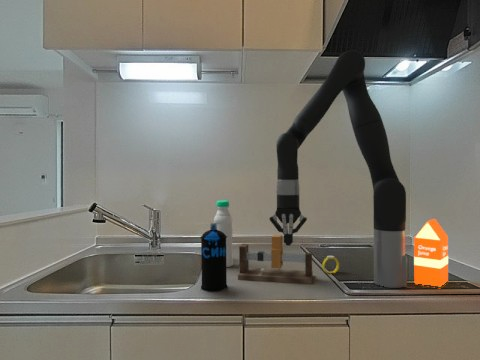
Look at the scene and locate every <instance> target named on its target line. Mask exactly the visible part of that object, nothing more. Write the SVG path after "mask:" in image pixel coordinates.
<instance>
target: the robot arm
mask: <svg viewBox="0 0 480 360" xmlns="http://www.w3.org/2000/svg"><path fill="white" fill-rule="evenodd" d="M365 67H366V59H365V57H364V55H363V54H362V52H360V51H358V50H355V49H349V50H346V51H343V53H341V54H340V55H339V56H338V58H337V59H336V62H335V64H333V67H332V69H331V70H330V72H329V74H328V75H327V77H326V78H325V79H324V81H323V82H322V84H321V85H320V87H319V88H318V90H316V92H315V93H314V94H313V96H312V97H311V98H310V100H308V102H307V103H306V104H305V105H304V107H302V109H301V110H300V111H299V113H298V114H297V115H296V117H295V118H294V120H293V122H292V124H291V126H290V127H288V129H287V130H286V131H285V132H284V133H281V134H280V135H279V136H278V138H277V140H276V158H277V169H276V171H277V172H276V173H277V182H276V211H275V212H274V214H273V215H272V216H270V217H269V218H268V219H269V221H270V222H271V224H272V225H273V226H274V227H275V229H276V230H277V231H278V233H282V235H283V244H285V246H291V245H292V244H293V243H294V234H295V233H298V232H299V230H300V229H301V228H302V227H303V225H304V224H305V223H306V222H307V220H308V217H306V216H304V215H303V214H302V212H301V210H300V209H301V208H300V183H299V182H300V180H299V174H300V173H299V164H298V155H299V154H298V151H299V148H300V147H301V146H302V145H303V143H304V142H305V140H306V138H307V137H308V136H309V135H310V133H311V132H312V131H314V129H315V128H316V127H317V126H318V124H319V123H320V122H321V121H322V119H323V118H324V117H325V115H326V114H327V112H328V111H329V109H330V108H331V107H332V104H333V103H334V102H335V100H336V99H337V97H338V96H339V95H340V94H341V92H342V93H343V95H344V98H345V101H346V104H347V110H348V114H349V120H350V123H351V127H352V130H353V135H354V136H355V141H356V142H357V145H358V148H359V151H360V153H361V155H362V157H363V159H364V161H365V163H366V166H367V169H368V172H369V174H370V179H371V183H372V190H373V193H372V194H373V195H372V196H373V197H372V198H373V284H375V285H377V286H379V285H380V286H379V287H383V286H384V288H389V289H390V288H391V289H396V288H397V289H398V288H399V289H400V288H408V268H407V267H408V256H407V255H406V222H407V221H406V220H407V193H406V192H407V191H406V188H405V185H403V183H402V182H401V181H400V179H399V177H398V175H397V172H396V170H395V167H394V165H393V163H392V159H391V152H390V145H389V141H388V136H387V132H386V129H385V125H384V122H383V118H382V116H381V114H380V112H379V110H378V108H377V106H376V104H375V103H374V101H373V99H372V98H371V96H370V93H369V91H368V87H367V84H366V80H365V79H366V78H365V73H364V71H365ZM278 220H279V221H280V223H281V224H282V226H281V225H280V224H279V222H278ZM298 220H299V223H298V224H297V226H296V227H295V228H294V224H295V223H296V222H297V221H298Z"/></svg>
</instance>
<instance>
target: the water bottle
mask: <svg viewBox="0 0 480 360" xmlns="http://www.w3.org/2000/svg"><path fill="white" fill-rule="evenodd" d="M216 207H217V212H216V213H215V216H214V218H213V223H217V230H219V231H221V232H223V233H224V234H225V235H226V236H227V238H226V268H230V267H232V266H233V264H234V262H233V218H232V215H231V213H230V211H229V207H230V201H229V200H217V201H216Z"/></svg>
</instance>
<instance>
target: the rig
mask: <svg viewBox="0 0 480 360" xmlns="http://www.w3.org/2000/svg"><path fill="white" fill-rule="evenodd" d="M238 249H239V251H238V253H239V256H238V257H239V260H238V261H239V273H238V274H237V280H240V281H257V282H258V281H259V282H276V283H288V284H289V283H292V284H306V285H307V284H309V285H311V284H312V281H313V276H314V273H313V253H312V252H305V253H304V254H305V264H304V266H305V268H304V269H305V270H299V269H298V270H295V269H279V268H261V267H260V268H255V267H249V261H250V260H246V252H247V251H249V244H248V243H242V244H241V245H239V248H238Z"/></svg>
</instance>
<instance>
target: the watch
mask: <svg viewBox="0 0 480 360" xmlns="http://www.w3.org/2000/svg"><path fill="white" fill-rule="evenodd" d="M329 260H335V263H336V267H335V269H334V270H332V271H327V270H326V263H327V261H329ZM321 265H322V266H321V267H322V269H323V272H324V273H326V274H328V273H330V274H336V273H337V272H338V271H339V269H340V262H339V259H337V258H336V257H335V256H334V255H327V256H326V258H324V259H323V261H322V264H321Z"/></svg>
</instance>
